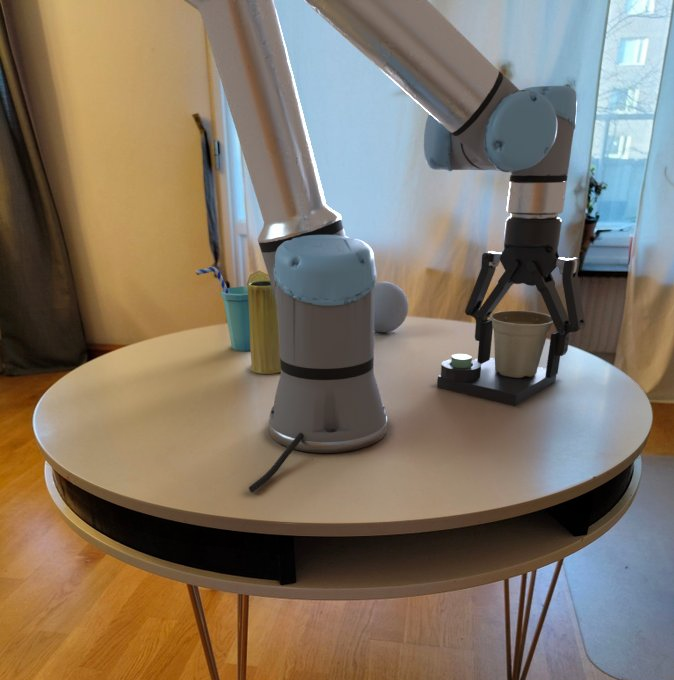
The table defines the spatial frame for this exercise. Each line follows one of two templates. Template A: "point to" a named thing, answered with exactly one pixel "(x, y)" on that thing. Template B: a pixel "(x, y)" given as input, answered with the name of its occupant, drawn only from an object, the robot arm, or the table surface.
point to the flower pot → (519, 341)
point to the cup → (237, 308)
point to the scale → (491, 382)
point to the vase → (263, 328)
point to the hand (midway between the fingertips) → (516, 368)
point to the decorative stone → (389, 307)
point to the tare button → (461, 361)
